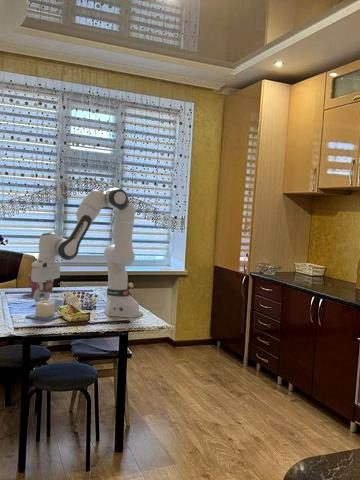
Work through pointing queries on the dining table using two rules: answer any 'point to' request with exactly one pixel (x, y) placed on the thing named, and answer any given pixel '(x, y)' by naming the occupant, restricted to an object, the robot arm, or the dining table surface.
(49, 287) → the walnut block
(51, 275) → the robot arm
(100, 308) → the dining table surface
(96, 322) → the dining table surface
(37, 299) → the donut
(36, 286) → the plant pot
